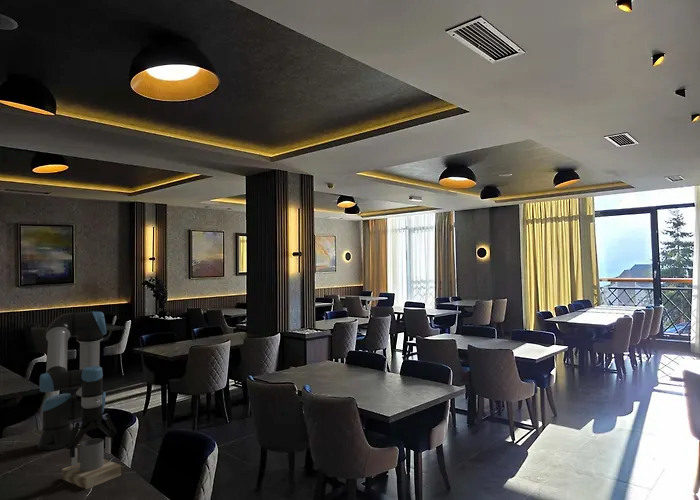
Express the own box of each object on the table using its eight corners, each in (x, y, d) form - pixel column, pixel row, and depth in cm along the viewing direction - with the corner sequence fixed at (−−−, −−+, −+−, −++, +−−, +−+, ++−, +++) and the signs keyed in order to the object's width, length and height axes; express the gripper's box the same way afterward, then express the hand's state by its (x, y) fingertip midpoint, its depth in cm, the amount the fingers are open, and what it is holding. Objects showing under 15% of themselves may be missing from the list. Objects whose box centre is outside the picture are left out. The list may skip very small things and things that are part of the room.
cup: (92, 472, 181) (92, 446, 182) (74, 470, 183) (75, 445, 184) (108, 463, 190) (108, 438, 190) (90, 462, 191) (91, 437, 192)
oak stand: (61, 479, 185) (61, 469, 185) (96, 466, 197) (96, 456, 197) (86, 489, 176) (86, 478, 176) (121, 475, 187) (121, 465, 188)
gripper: (64, 415, 175) (64, 472, 174) (126, 399, 196) (126, 450, 195) (54, 412, 179) (54, 468, 178) (115, 397, 200) (115, 446, 199)
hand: (91, 459), depth 187 cm, fingers open, 13 cm apart
